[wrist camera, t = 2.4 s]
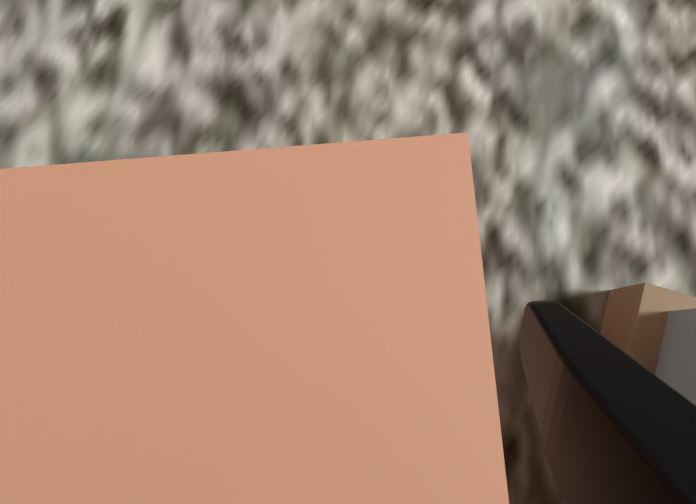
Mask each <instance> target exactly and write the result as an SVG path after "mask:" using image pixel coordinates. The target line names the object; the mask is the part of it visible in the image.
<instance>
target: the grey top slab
mask: <svg viewBox="0 0 696 504" xmlns="http://www.w3.org/2000/svg"><path fill="white" fill-rule="evenodd" d="M655 375H656V376H658V377H659V378H660V379H662V380H663V381H664V382H666V383H667V384H668V385H670V386H671V387H672V388H673V389H675V390H676V391H677V392H679V393H680V394H681V395H683V396H684V397H685V398H687V399H688V400H689V401H691V402H692V403H693V404H695V405H696V308H694V309H684V310H675V311H668V315H667V320H666V325H665V330H664V334H663V339H662V344H661V349H660V353H659V358H658V363H657V368H656V372H655Z"/></svg>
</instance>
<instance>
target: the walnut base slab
mask: <svg viewBox="0 0 696 504" xmlns="http://www.w3.org/2000/svg"><path fill="white" fill-rule="evenodd" d="M694 308H696V297H693V296H690V295H686V294H683V293H679V292H676V291H672V290H669V289H665V288H662V287H658V286H654V285H651V284H647V283H642V284H637V285H633V286H628V287H623V288H618V289H613V290H610V291H609V296H608V300H607V304H606V309H605V313H604V318H603V322H602V326H601V331H600V334H602V335H603V336H604V337H606V338H607V339H608V340H610V341H611V342H612V343H614V344H615V345H616V346H618V347H619V348H620V349H622V350H623V351H624V352H626V353H627V354H628V355H630V356H631V357H632V358H634V359H635V360H636V361H638V362H639V363H640V364H642V365H643V366H644V367H646V368H647V369H648V370H650V371H651V372H652V373H654V374H655V372H656V368H657V363H658V358H659V353H660V349H661V344H662V339H663V334H664V330H665V325H666V320H667V315H668V311H675V310H684V309H694ZM561 504H563V501H562V502H561Z"/></svg>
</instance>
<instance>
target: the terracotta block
mask: <svg viewBox="0 0 696 504" xmlns="http://www.w3.org/2000/svg"><path fill="white" fill-rule="evenodd" d="M0 504H509V497H508V488H507V480H506V471H505V462H504V453H503V444H502V435H501V426H500V417H499V408H498V399H497V390H496V381H495V372H494V363H493V354H492V345H491V336H490V327H489V318H488V310H487V301H486V292H485V283H484V274H483V265H482V256H481V247H480V238H479V229H478V220H477V211H476V202H475V193H474V184H473V175H472V166H471V157H470V148H469V140H468V133H457V134H444V135H431V136H418V137H405V138H392V139H380V140H367V141H354V142H341V143H328V144H316V145H303V146H290V147H277V148H264V149H251V150H239V151H226V152H213V153H200V154H187V155H175V156H162V157H149V158H136V159H123V160H110V161H98V162H85V163H72V164H59V165H46V166H33V167H21V168H8V169H0Z"/></svg>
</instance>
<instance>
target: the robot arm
mask: <svg viewBox="0 0 696 504" xmlns="http://www.w3.org/2000/svg"><path fill="white" fill-rule="evenodd" d="M519 347H520V356H521V360H522V364H523V369H524V373H525V377H526V381H527V385H528V389H529V393H530V397H531V401H532V405H533V409H534V413H535V417H536V421H537V425H538V429H539V433H540V437H541V441H542V445H543V448H544V452H545V455H546V457H547V460H548V463H549V466H550V469H551V472H552V474H553V477H554V480H555V482H556V485H557V488H558V490H559V493H560V496H561V498H562V501H563V504H696V405H695V404H693V403H692V402H691V401H689V400H688V399H687V398H685V397H684V396H683V395H681V394H680V393H679V392H677V391H676V390H675V389H673V388H672V387H671V386H670V385H668V384H667V383H666V382H664V381H663V380H662V379H660V378H659V377H658V376H656V375H655V374H654V373H652V372H651V371H650V370H648V369H647V368H646V367H644V366H643V365H642V364H640V363H639V362H638V361H636V360H635V359H634V358H632V357H631V356H630V355H628V354H627V353H626V352H624V351H623V350H622V349H620V348H619V347H618V346H616V345H615V344H614V343H612V342H611V341H610V340H608V339H607V338H606V337H604V336H603V335H602V334H600V333H599V332H598V331H596V330H595V329H594V328H592V327H591V326H590V325H588V324H587V323H586V322H584V321H583V320H582V319H580V318H579V317H578V316H576V315H575V314H574V313H572V312H571V311H570V310H568V309H567V308H566V307H564V306H563V305H562V304H560V303H559V302H557V301H555V300H545V301H532V302H529V303H528V304H527V305H526V307H525V310H524V316H523V322H522V329H521V335H520V343H519Z"/></svg>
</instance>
